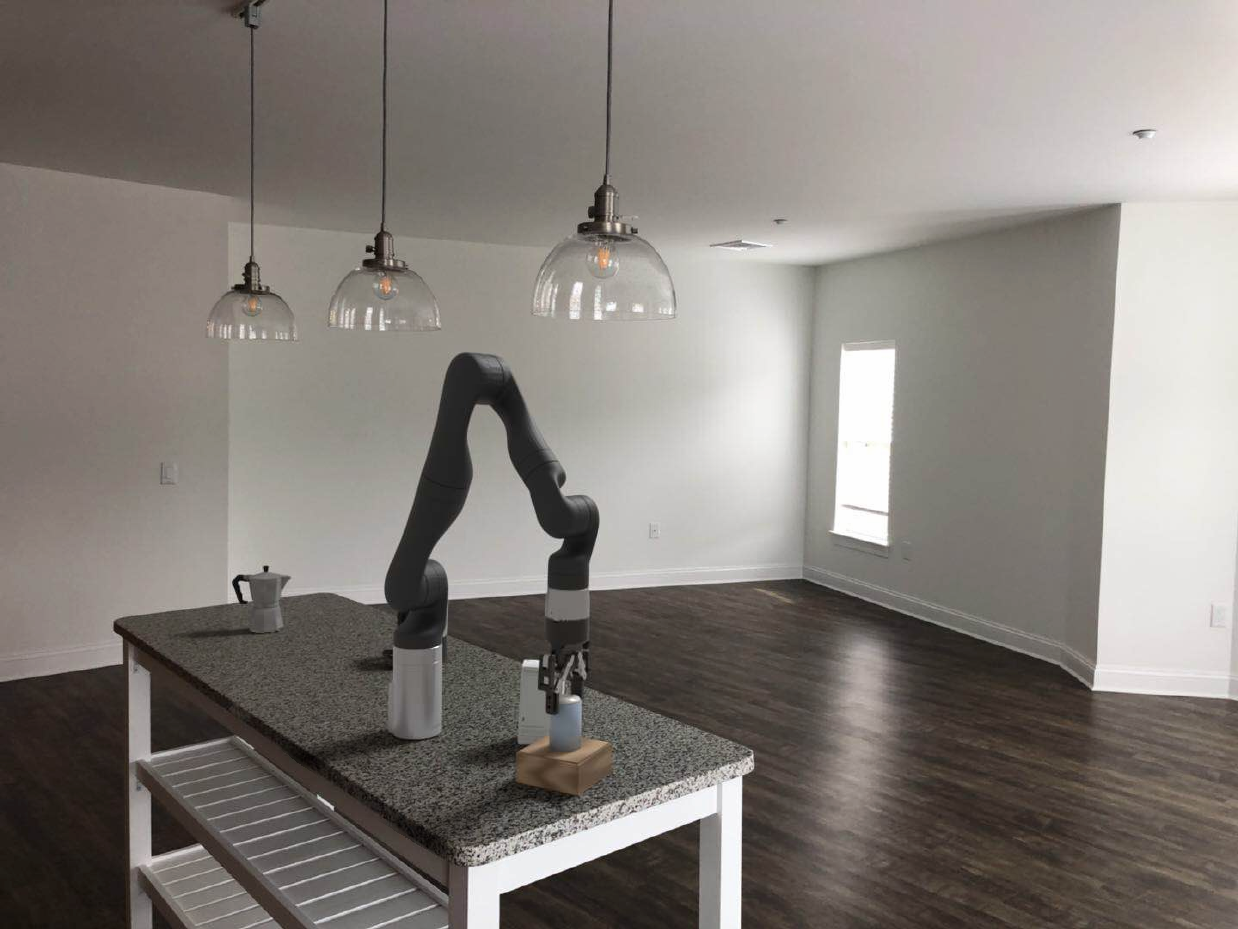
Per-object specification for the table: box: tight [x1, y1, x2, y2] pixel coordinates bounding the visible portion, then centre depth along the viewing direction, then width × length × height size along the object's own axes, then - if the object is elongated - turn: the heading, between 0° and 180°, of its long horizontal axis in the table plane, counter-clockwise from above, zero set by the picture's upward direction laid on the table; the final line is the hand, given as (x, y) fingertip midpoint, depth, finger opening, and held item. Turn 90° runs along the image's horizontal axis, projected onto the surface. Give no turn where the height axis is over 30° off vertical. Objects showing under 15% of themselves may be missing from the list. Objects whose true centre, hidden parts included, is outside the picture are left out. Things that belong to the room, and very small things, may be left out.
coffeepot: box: [231, 565, 292, 631], centre depth 271 cm, size 15×9×18 cm, turn 103°
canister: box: [549, 693, 583, 752], centre depth 167 cm, size 5×5×8 cm
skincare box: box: [517, 659, 566, 745], centre depth 186 cm, size 8×6×15 cm
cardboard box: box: [515, 734, 613, 796], centre depth 168 cm, size 12×12×5 cm
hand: (564, 707), depth 167 cm, fingers open, 8 cm apart
